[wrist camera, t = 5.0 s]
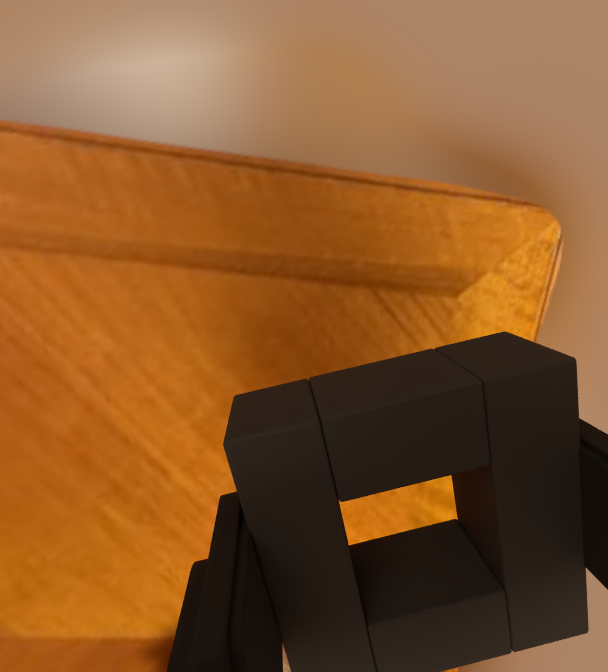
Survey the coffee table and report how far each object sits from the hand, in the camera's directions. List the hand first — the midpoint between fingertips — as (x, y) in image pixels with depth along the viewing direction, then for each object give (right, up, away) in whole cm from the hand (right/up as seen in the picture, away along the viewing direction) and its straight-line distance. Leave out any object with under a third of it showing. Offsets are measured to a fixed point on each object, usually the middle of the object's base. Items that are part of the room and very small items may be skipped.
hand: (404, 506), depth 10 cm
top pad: (0, 0, +1) cm, 1 cm away
